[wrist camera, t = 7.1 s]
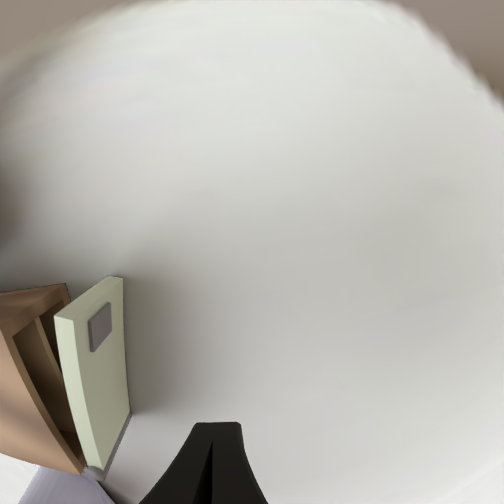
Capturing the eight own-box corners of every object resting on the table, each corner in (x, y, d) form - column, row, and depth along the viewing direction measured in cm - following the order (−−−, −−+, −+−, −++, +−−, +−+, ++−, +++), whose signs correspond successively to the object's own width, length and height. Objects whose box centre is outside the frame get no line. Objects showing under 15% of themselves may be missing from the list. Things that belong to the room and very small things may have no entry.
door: (134, 420, 19) (107, 483, 13) (117, 416, 19) (88, 477, 13) (126, 278, 17) (73, 324, 11) (106, 274, 17) (48, 317, 10)
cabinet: (113, 410, 19) (80, 475, 12) (30, 403, 19) (-8, 450, 13) (65, 283, 17) (-1, 325, 10) (-15, 295, 17) (-73, 327, 10)
